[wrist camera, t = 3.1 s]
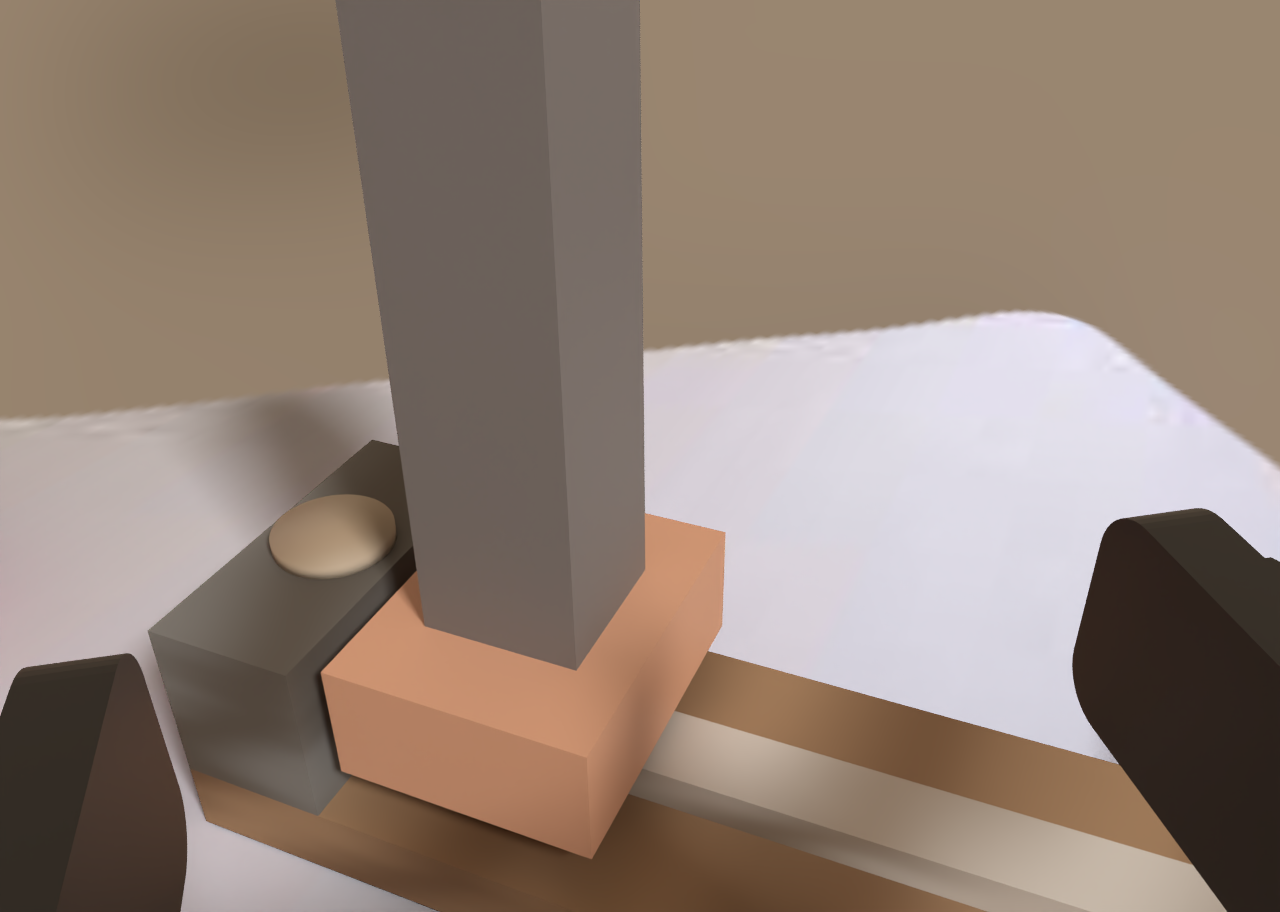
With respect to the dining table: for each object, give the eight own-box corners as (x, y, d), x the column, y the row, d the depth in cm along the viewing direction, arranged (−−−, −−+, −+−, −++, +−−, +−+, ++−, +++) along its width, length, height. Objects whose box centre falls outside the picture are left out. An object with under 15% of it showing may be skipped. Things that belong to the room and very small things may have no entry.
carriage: (341, 771, 21) (156, -106, 13) (510, 568, 26) (447, -157, 18) (591, 859, 19) (545, -87, 12) (722, 625, 24) (749, -148, 17)
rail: (206, 821, 23) (143, 617, 21) (399, 612, 29) (369, 428, 26) (1654, 1383, 15) (1878, 1175, 13) (1544, 946, 21) (1684, 732, 18)
